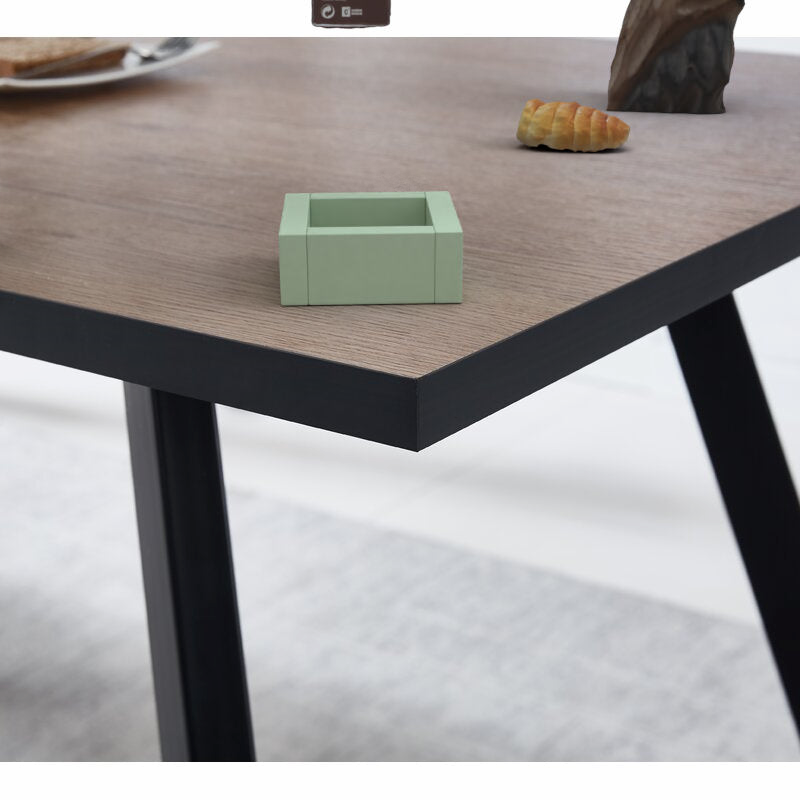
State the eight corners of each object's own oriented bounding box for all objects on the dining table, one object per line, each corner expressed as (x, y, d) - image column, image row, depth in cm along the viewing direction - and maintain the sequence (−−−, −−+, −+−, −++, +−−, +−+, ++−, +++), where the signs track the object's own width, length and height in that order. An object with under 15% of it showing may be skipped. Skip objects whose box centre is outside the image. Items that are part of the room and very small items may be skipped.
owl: (638, 92, 141) (651, -106, 134) (755, 100, 136) (775, -105, 129) (600, 110, 131) (611, -104, 124) (725, 119, 126) (745, -104, 118)
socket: (280, 306, 71) (278, 234, 70) (287, 257, 80) (285, 193, 79) (462, 303, 71) (463, 231, 70) (448, 254, 81) (448, 191, 79)
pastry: (635, 143, 114) (638, 99, 113) (618, 158, 109) (620, 111, 107) (532, 136, 118) (534, 93, 116) (510, 150, 112) (511, 105, 111)
